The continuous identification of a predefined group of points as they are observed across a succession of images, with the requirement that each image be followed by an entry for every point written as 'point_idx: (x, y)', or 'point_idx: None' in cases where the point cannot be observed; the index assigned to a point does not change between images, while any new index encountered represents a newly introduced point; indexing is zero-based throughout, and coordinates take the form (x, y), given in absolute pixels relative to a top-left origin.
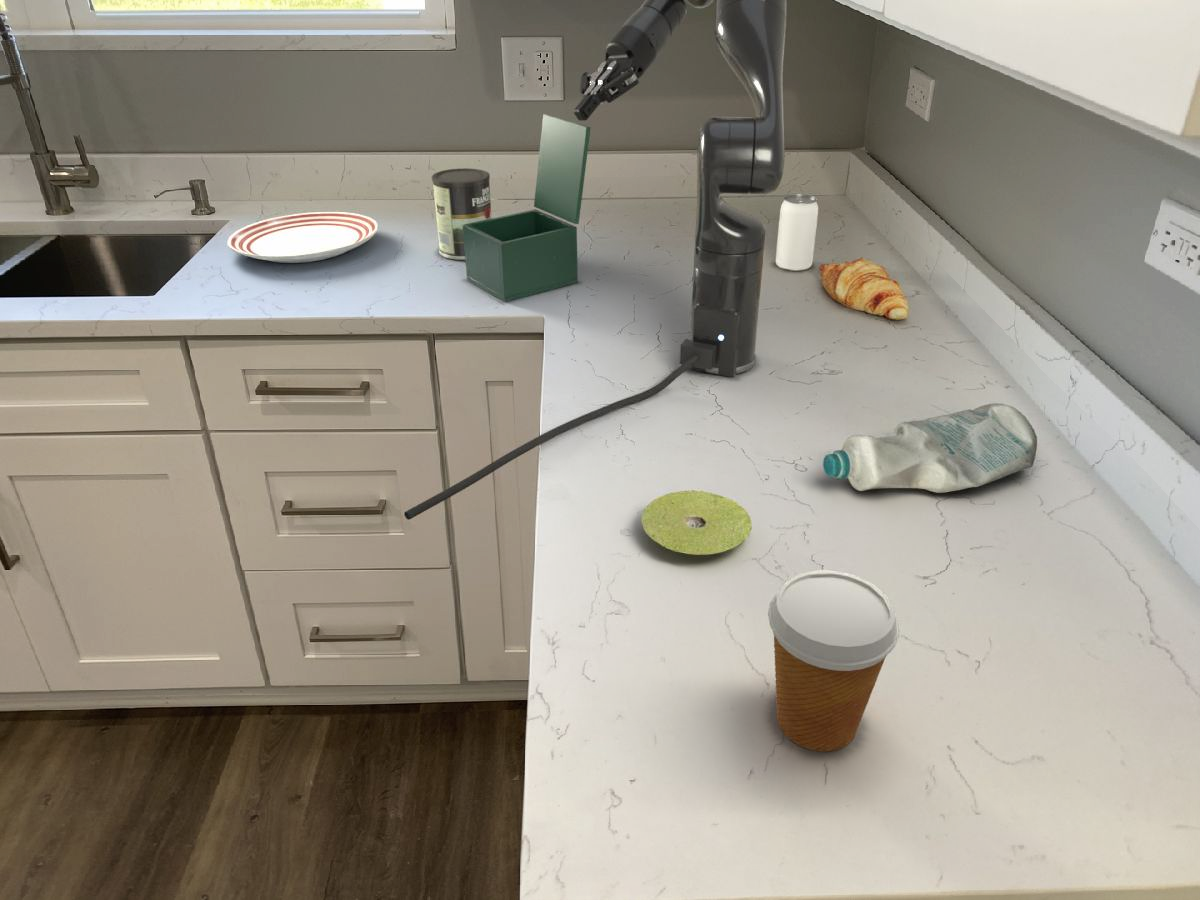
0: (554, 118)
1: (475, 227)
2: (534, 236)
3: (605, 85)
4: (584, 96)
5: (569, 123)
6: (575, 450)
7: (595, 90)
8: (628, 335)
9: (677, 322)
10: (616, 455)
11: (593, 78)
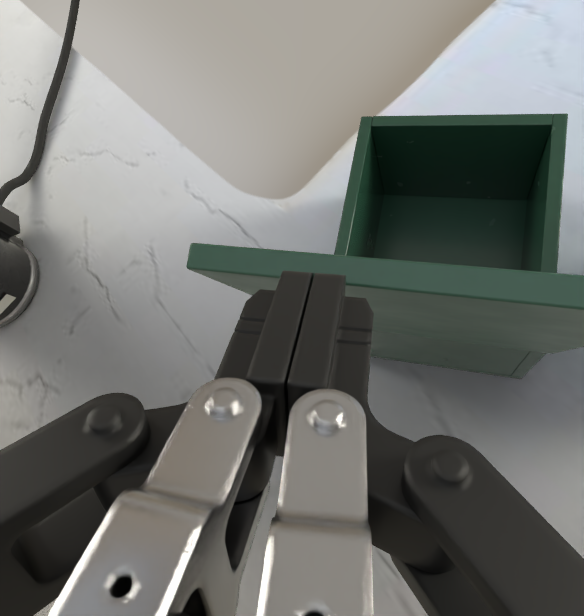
0: (527, 271)
1: (548, 148)
2: (346, 197)
3: (85, 457)
4: (370, 416)
5: (348, 257)
6: (44, 56)
7: (209, 413)
8: (136, 255)
9: (102, 344)
10: (13, 78)
11: (327, 579)
